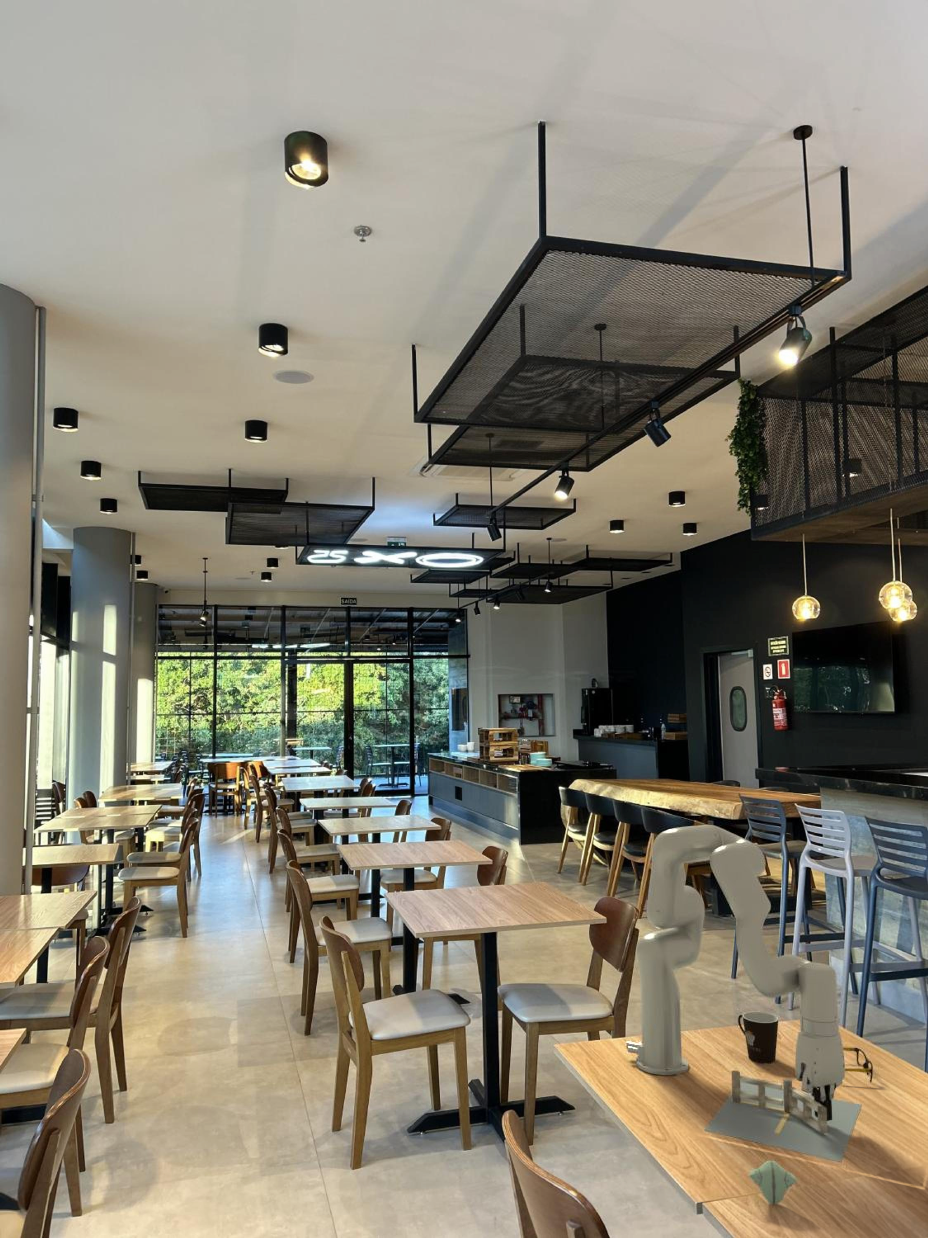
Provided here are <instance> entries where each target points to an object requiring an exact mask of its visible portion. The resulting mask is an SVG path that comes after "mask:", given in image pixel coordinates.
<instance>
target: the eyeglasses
mask: <svg viewBox="0 0 928 1238" xmlns="http://www.w3.org/2000/svg"><path fill="white" fill-rule="evenodd" d="M843 1051H844V1052H846V1051H847V1052H855V1053H856V1063H857V1065H858V1066H860V1065H861V1064H860V1062H859V1055H860V1054H859V1052H861V1054H863V1057H864V1059H865V1062H864V1063H862V1067H863V1068H857V1067H856V1068H847V1067H845V1072H856V1073H865V1074H866V1076H867V1075H869V1074H870V1075H869V1076H870V1078H869V1083H872V1082H873V1074H874V1073H873V1072H874V1069H873V1068H874V1067H873V1063H872V1061H870V1060H869V1059H868V1058H867V1054H866V1053H865V1052H864V1051H863V1050H862V1049H860V1048H859V1047H849V1046H847V1047H846V1046H843ZM869 1065H870V1068H869Z"/></svg>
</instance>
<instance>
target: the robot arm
mask: <svg viewBox="0 0 928 1238" xmlns="http://www.w3.org/2000/svg"><path fill="white" fill-rule="evenodd" d="M704 861H705V862H706V861H709V864H710V868H711V870H712V873H713V875H714V877H715V879H716V881H717V883H718V885H719V887H720V889H721V891H722V892H723V895H724V897H725V899H726V901H727V903H728V904H729V907H730V909H731V911H732V913H733V915H734V917H735V922H736V926H735V942H736V948H737V954H738V957H739V959H740V962H741V964H742V967H743V969H744V971H745V973H746V974H747V976H748V979H749V980H750V982H751V984H752V985H753V986H754V988H755V989H756V991H757V992H758V993H760V994H761V995H762V996H764V997H766V998H771V999H775V998H776V999H777V998H781V997H782V996H785V995H788V994H794V993H798V994H799V997H798V998H799V999H798V1000H799V1014H800V1016H799V1019H800V1020H799V1021H800V1031H799V1032H798V1033H797V1039H796V1044H795V1045H796V1046H795V1047H796V1048H795V1060H794V1062H795V1068H794V1069H795V1070H794V1071H795V1077H796V1080H797V1081H799V1082H801V1088H800V1089H801V1090H800V1091H802V1092H803V1093H806V1094H811V1095H812V1097H814V1100H815V1101H816V1102H818V1103H819V1104H821V1105H823V1106H824V1107H826V1111H827V1121H830V1120H832V1100H831V1099H835V1091H836V1090H837V1089H836V1088H839V1087H840V1086H841V1085H843V1080H844V1079H845V1076H846V1071H845V1068H846V1065H845V1064H846V1062H845V1053H844V1052H845V1051H844V1050H843V1047H844V1046H843V1041H842V1037H841V1033H840V1030H839V1029H840V1026H839V1025H840V1024H839V1023H840V1018H839V1006H838V1005H839V1003H838V981H837V978H838V977H837V972H836V970H835V968H833V967H832V966H831V965H828V964H825V963H822V962H812V961H810V960H808V959H806V958H804V957H800V956H798V955H795V954H784V955H781V956H776V957H773V958H772V955H771V954H770V952H769V950H768V947H767V946H766V942H765V939H764V938H765V937H764V933H763V931H764V930H763V929H764V923H765V920H766V918H767V916H768V915H769V912H770V911H771V907H772V906H771V901H770V900H769V898H768V896H767V893H766V892H765V890H764V889H763V887H762V884H761V883H760V880H759V878H758V877H760V876H761V875H762V874H763V873H764V871H765V869H766V859H765V855H764V854H763V852H762V850H761V849H760V848H759V847H758V846H757V845H756V844H755V843H753V842H752V841H750V840H747V839H745V838H743V837H741V836H739V835H737V834H735V833H732V832H730V831H729V830H726V829H724V828H721V827H720V826H717V825H713V824H701V825H690V826H681V827H674V828H670V829H667V830H664V831H662V832H660V833H659V834H658V835H657V836H656V838H655V839H654V840H653V842H652V847H651V868H650V869H651V871H650V876H649V877H650V879H649V885H648V895H647V904H646V917H647V920H648V922H649V923H650V925H651V926H653V927H654V928H656V929H660V930H657V931H653V932H650V933H647V934H645V935H643V936H642V937H641V938H640V939H639V940H638V942H637V944H636V948H635V959H636V964H637V968H638V975H639V984H640V985H639V986H640V1006H641V1008H640V1009H641V1010H640V1011H641V1012H640V1017H641V1042H639V1043H637V1042H635V1041H630V1040H628V1041H626V1049H627V1053H632V1054H636V1055H637V1057H636V1058H635V1064H636V1065H635V1066H637V1068H638V1069H640V1070H641V1071H644V1072H645V1073H649V1074H652V1075H658V1076H676V1075H679V1074H682V1073H685V1072H687V1071H688V1070H689V1061H688V1060H687V1059H686V1058H685V1057H683V1056H682V1054H683V1051H682V1048H683V1046H682V1017H681V1016H682V1015H681V1014H682V1010H681V992H680V991H681V990H680V987H679V983H678V981H677V979H676V976H675V974H674V971H676V970H679V969H682V968H683V969H684V968H686V967H688V966H691V965H693V964H694V963H696V962H697V960H698V959H699V958H698V957H699V954H700V952H701V945H702V937H703V929H704V928H703V927H704V921H705V904H704V901H703V898H702V896H701V894H700V893H699V891H698V890H696V889H695V887H692V886H690V885H686V880H687V877H686V876H687V874H686V870H685V869H686V868H685V866H684V864H685V863H686V864H687V863H697V862H700V863H701V862H704ZM814 1111H815V1110H814ZM815 1116H816V1117H818V1112H816V1111H815Z"/></svg>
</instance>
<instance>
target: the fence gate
mask: <svg viewBox="0 0 928 1238" xmlns="http://www.w3.org/2000/svg"><path fill="white" fill-rule="evenodd" d="M804 1093H805V1092H803V1091H802V1092H801V1090H799V1089H797V1088H795V1087H794V1086H792V1087H790V1088H789V1110H790V1112H791V1113H793V1114H794V1115H796V1116H797V1117H798V1118H800V1119H801V1120H803V1121H804V1122H806V1123H807V1124H809V1125H810V1126H812V1127H813V1128H815V1129H816V1130H818V1131H819V1132H821V1133H822V1134H824V1133H827V1111H826V1107H824V1106H823V1105H821V1104H819V1103H818V1102H816V1101H815V1100H813V1099H811V1098H810V1097H808V1096H807V1095H805V1094H804ZM797 1099H798V1100H799V1101H801V1102H803V1110H801V1109H800V1108H798V1102H797ZM812 1109H813V1110H815V1111H816V1112H818V1120H816V1119H815V1118H813V1117H812Z"/></svg>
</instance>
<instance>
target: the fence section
mask: <svg viewBox="0 0 928 1238" xmlns="http://www.w3.org/2000/svg"><path fill="white" fill-rule="evenodd" d="M740 1082H743V1083H748V1084H753V1085H758V1094H754V1093H750V1092H745V1091H741V1086H740ZM765 1087H768V1088H773V1089H778V1090H782V1089H783V1092H784V1111H785V1112H787V1113H791V1112H790V1110H789V1088H790V1087H793V1080H792V1079H790V1078H783V1079H782V1083H780V1082H776V1081H770V1080H766V1079H761V1078H755V1077H750V1076H746V1075H741V1072H740V1071H739V1070H731V1093H732V1100H733V1101H734V1102H740V1101H741V1097H742V1098H747V1099H751V1100H756V1101H759V1107H763V1108H765V1106H766V1103H770V1104H775V1105H780V1106H782V1105H783V1099H779V1098H774V1097H769V1096H765Z"/></svg>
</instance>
